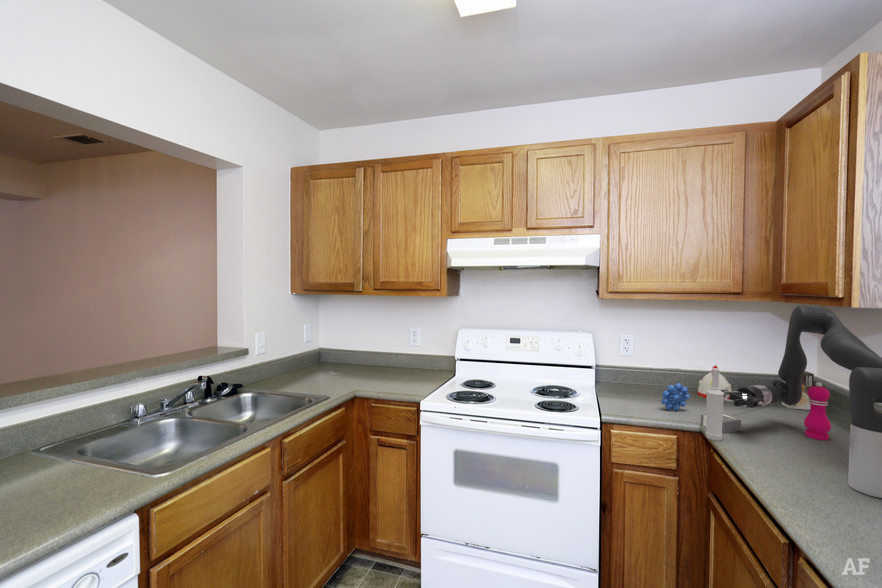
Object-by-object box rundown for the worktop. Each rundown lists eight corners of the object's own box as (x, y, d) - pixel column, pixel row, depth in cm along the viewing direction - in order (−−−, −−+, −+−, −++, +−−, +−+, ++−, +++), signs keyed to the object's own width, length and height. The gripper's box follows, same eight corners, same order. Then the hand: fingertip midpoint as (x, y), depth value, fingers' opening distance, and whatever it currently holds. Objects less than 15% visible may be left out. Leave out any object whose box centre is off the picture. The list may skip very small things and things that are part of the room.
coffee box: (805, 406, 184) (806, 370, 183) (813, 410, 178) (815, 374, 177) (781, 404, 187) (782, 369, 186) (788, 408, 180) (789, 372, 180)
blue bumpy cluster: (684, 407, 181) (685, 381, 180) (692, 412, 174) (692, 385, 173) (656, 407, 182) (657, 380, 181) (663, 411, 175) (664, 384, 175)
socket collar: (740, 430, 154) (741, 420, 153) (722, 433, 151) (723, 422, 151) (718, 422, 162) (718, 412, 162) (700, 424, 159) (701, 414, 159)
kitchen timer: (693, 395, 200) (694, 365, 199) (702, 390, 209) (703, 361, 209) (727, 402, 190) (728, 370, 189) (735, 396, 199) (736, 366, 198)
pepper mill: (801, 436, 148) (803, 381, 147) (805, 431, 153) (807, 378, 152) (828, 442, 143) (831, 385, 142) (832, 437, 147) (834, 382, 147)
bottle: (706, 434, 150) (708, 366, 149) (723, 437, 147) (725, 368, 146) (704, 438, 146) (706, 369, 145) (721, 442, 143) (723, 371, 142)
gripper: (735, 381, 159) (704, 384, 154) (775, 390, 145) (743, 394, 140) (734, 400, 159) (704, 404, 154) (774, 411, 146) (742, 416, 140)
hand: (722, 399), depth 147 cm, fingers open, 8 cm apart
